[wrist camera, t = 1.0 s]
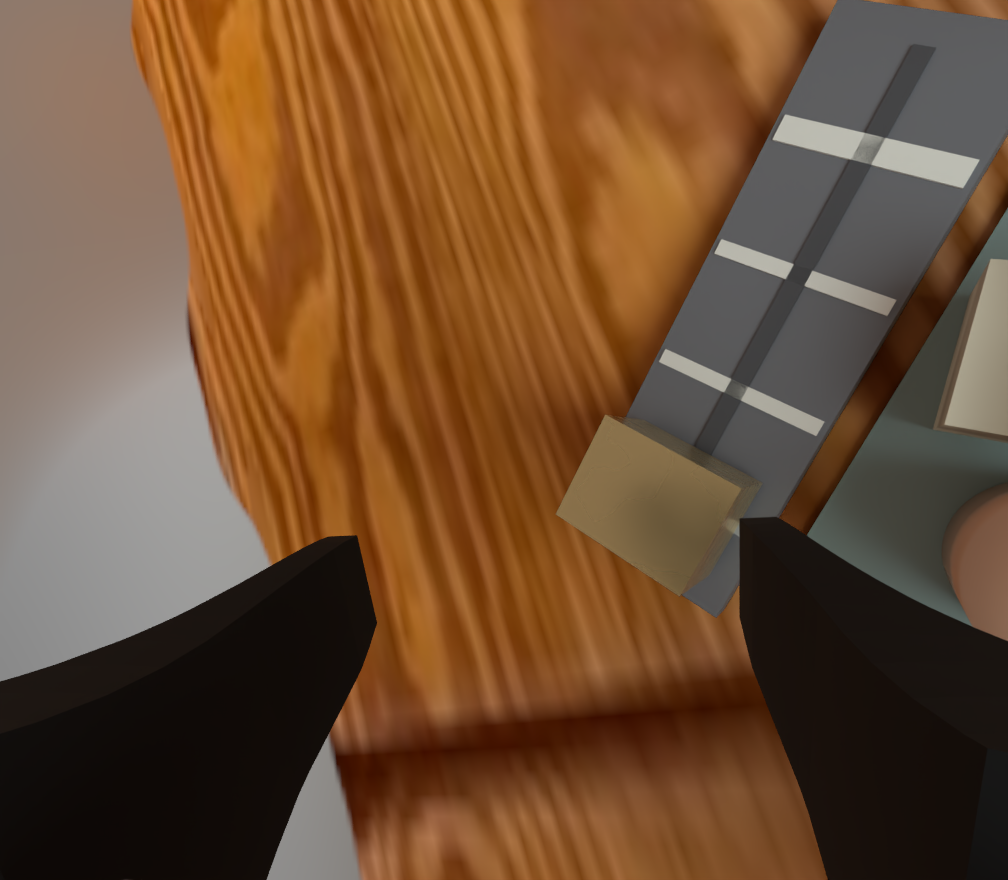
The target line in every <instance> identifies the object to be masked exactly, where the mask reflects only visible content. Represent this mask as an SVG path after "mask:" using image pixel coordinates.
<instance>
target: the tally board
mask: <svg viewBox="0 0 1008 880" xmlns="http://www.w3.org/2000/svg"><path fill="white" fill-rule="evenodd" d="M1007 135H1008V20H1002V19H995V18H987V17H980V16H973V15H965V14H958V13H951V12H943V11H936V10H929V9H921V8H914V7H906V6H899V5H892V4H884V3H877V2H870V1H862V0H838V1H837V2H836V4H835V6H834V8H833V10H832V12H831V14H830V16H829V18H828V20H827V22H826V24H825V26H824V28H823V30H822V32H821V34H820V36H819V38H818V40H817V42H816V44H815V46H814V48H813V50H812V52H811V54H810V56H809V58H808V60H807V61H806V63H805V65H804V67H803V69H802V71H801V73H800V75H799V77H798V79H797V81H796V83H795V85H794V87H793V89H792V91H791V93H790V95H789V97H788V99H787V101H786V103H785V105H784V107H783V109H782V111H781V113H780V115H779V117H778V119H777V120H776V122H775V124H774V126H773V128H772V130H771V132H770V134H769V136H768V138H767V140H766V142H765V144H764V146H763V148H762V150H761V152H760V154H759V156H758V158H757V160H756V162H755V164H754V166H753V168H752V170H751V172H750V174H749V176H748V178H747V179H746V181H745V183H744V185H743V187H742V189H741V191H740V193H739V195H738V197H737V199H736V201H735V203H734V205H733V207H732V209H731V211H730V213H729V215H728V217H727V219H726V221H725V223H724V225H723V227H722V229H721V231H720V233H719V235H718V237H717V239H716V240H715V242H714V244H713V246H712V248H711V250H710V252H709V254H708V256H707V258H706V260H705V262H704V264H703V266H702V268H701V270H700V272H699V274H698V276H697V278H696V280H695V282H694V284H693V286H692V288H691V290H690V292H689V294H688V296H687V298H686V299H685V301H684V303H683V305H682V307H681V309H680V311H679V313H678V315H677V317H676V319H675V321H674V323H673V325H672V327H671V329H670V331H669V333H668V335H667V337H666V339H665V341H664V343H663V345H662V347H661V349H660V351H659V353H658V355H657V357H656V358H655V360H654V362H653V364H652V366H651V368H650V370H649V372H648V374H647V376H646V378H645V380H644V382H643V384H642V386H641V388H640V390H639V392H638V394H637V396H636V398H635V400H634V402H633V404H632V406H631V408H630V410H629V412H628V414H627V416H626V417H627V418H634V419H641V420H645V421H647V422H649V423H651V424H652V425H654V426H656V427H658V428H660V429H662V430H664V431H666V432H667V433H669V434H671V435H673V436H675V437H677V438H679V439H681V440H683V441H684V442H686V443H688V444H690V445H692V446H694V447H696V448H698V449H700V450H701V451H703V452H705V453H707V454H709V455H711V456H713V457H715V458H717V459H718V460H720V461H722V462H724V463H726V464H728V465H730V466H732V467H734V468H735V469H737V470H739V471H741V472H743V473H745V474H747V475H749V476H751V477H752V478H754V479H756V480H758V481H760V482H762V483H763V484H762V485H761V487H760V489H759V490H758V492H757V494H756V496H755V497H754V499H753V501H752V502H751V504H750V506H749V508H748V509H747V511H746V513H745V515H744V516H743V518H758V517H778V518H779V517H780V515H781V514H782V512H783V510H784V509H785V507H786V505H787V503H788V502H789V500H790V498H791V497H792V495H793V493H794V492H795V490H796V488H797V487H798V485H799V483H800V482H801V480H802V478H803V477H804V475H805V473H806V472H807V470H808V468H809V467H810V465H811V463H812V462H813V460H814V458H815V457H816V455H817V453H818V452H819V450H820V448H821V447H822V445H823V443H824V442H825V440H826V438H827V437H828V435H829V433H830V432H831V430H832V428H833V426H834V425H835V423H836V421H837V420H838V418H839V416H840V415H841V413H842V411H843V410H844V408H845V406H846V405H847V403H848V401H849V400H850V398H851V396H852V395H853V393H854V391H855V390H856V388H857V386H858V385H859V383H860V381H861V380H862V378H863V376H864V375H865V373H866V371H867V370H868V368H869V366H870V365H871V363H872V361H873V360H874V358H875V356H876V354H877V353H878V351H879V349H880V348H881V346H882V344H883V343H884V341H885V339H886V338H887V336H888V334H889V333H890V331H891V329H892V328H893V326H894V324H895V323H896V321H897V319H898V318H899V316H900V314H901V313H902V311H903V309H904V308H905V306H906V304H907V303H908V301H909V299H910V298H911V296H912V294H913V293H914V291H915V289H916V288H917V286H918V284H919V282H920V281H921V279H922V277H923V276H924V274H925V272H926V271H927V269H928V267H929V266H930V264H931V262H932V261H933V259H934V257H935V256H936V254H937V252H938V251H939V249H940V247H941V246H942V244H943V242H944V241H945V239H946V237H947V236H948V234H949V232H950V231H951V229H952V227H953V226H954V224H955V222H956V221H957V219H958V217H959V216H960V214H961V212H962V211H963V209H964V207H965V205H966V204H967V202H968V200H969V199H970V197H971V195H972V194H973V192H974V190H975V189H976V187H977V185H978V184H979V182H980V180H981V179H982V177H983V175H984V174H985V172H986V170H987V169H988V167H989V165H990V164H991V162H992V160H993V159H994V157H995V155H996V154H997V152H998V150H999V149H1000V147H1001V145H1002V144H1003V142H1004V140H1005V139H1006V137H1007ZM739 584H740V559H739V525H738V527H737V528H736V530H735V532H734V533H733V535H732V537H731V539H730V540H729V542H728V544H727V545H726V547H725V549H724V551H723V552H722V554H721V556H720V558H719V559H718V561H717V563H716V564H715V566H714V568H713V570H712V571H711V573H710V575H709V576H708V577H706V578H705V579H703V580H702V581H701V582H699V583H698V584H696V585H695V586H694V587H692V588H691V589H689V590H688V591H687V592H685V593H684V594H682V595H683V596H684V597H686V598H687V599H689V600H690V601H692V602H693V603H695V604H696V605H698V606H699V607H701V608H702V609H704V610H705V611H707V612H708V613H710V614H711V615H713V616H714V617H717V616H718V615H719V614H720V613H721V612H722V611H723V610H724V609H725V607H726V606H727V604H728V602H729V601H730V599H731V597H732V596H733V594H734V592H735V591H736V589H737V587H738V586H739Z"/></svg>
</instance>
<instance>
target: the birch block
mask: <svg viewBox="0 0 1008 880" xmlns="http://www.w3.org/2000/svg"><path fill="white" fill-rule="evenodd" d="M933 430H937V431H943V432H948V433H954V434H959V435H965V436H970V437H976V438H981V439H987V440H992V441H998V442H1003V443H1008V260H1002V259H990V261H989V263H988V264H987V266H986V268H985V270H984V271H983V273H982V275H981V277H980V278H979V280H978V282H977V284H976V286H975V287H974V289H973V291H972V293H971V294H970V297H969V300H968V304H967V308H966V311H965V315H964V319H963V322H962V326H961V329H960V333H959V337H958V340H957V344H956V347H955V351H954V355H953V358H952V362H951V365H950V369H949V373H948V376H947V380H946V383H945V387H944V391H943V394H942V398H941V402H940V405H939V409H938V412H937V416H936V420H935V423H934V427H933Z"/></svg>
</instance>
